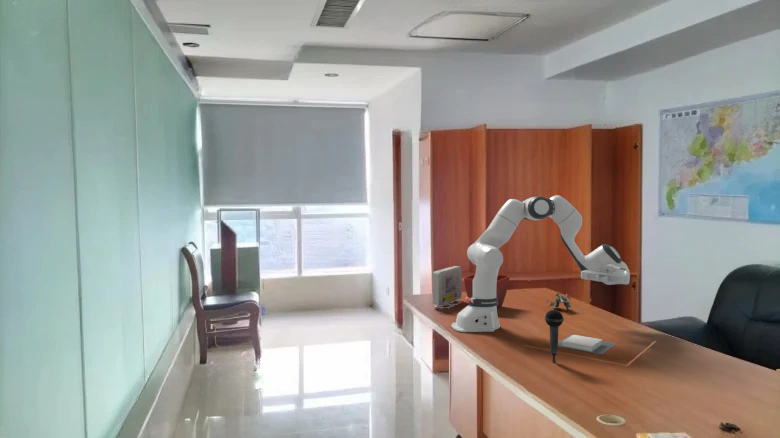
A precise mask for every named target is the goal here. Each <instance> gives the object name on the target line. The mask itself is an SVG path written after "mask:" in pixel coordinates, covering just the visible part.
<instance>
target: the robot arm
mask: <svg viewBox="0 0 780 438" xmlns="http://www.w3.org/2000/svg"><path fill="white" fill-rule="evenodd" d="M548 217H549V218H550V219H552V221H554V222H555V224H557V226H558V228H559V229H560V233H559V235H560V239H561V241H562V243H563V245H564V247H565V248H566V249H567V251H568V252H569V254H570V256H571V257H572V258H573V259H574V261H575V263H576V264H577V266H578V268H579V270H580V279H581V280H587V281H588V280H589V281H595V282H601V283H603V284H605V285H606V286H608V285H609V286H611V285H629V284H630V280H631V279H630V278H631V272H630V269H629V267H628V265H627V264H626V263H625V262H624V261H622V257H621V254H620V253H619V251H618V250H617V248H615V247H614V246H612V245H610V244H605V243H603V244H602V245H600V246H598V247H597V248H596V249H594V250H593V251H591V252H589V253H588V254H586V255H584V253H583V252H582V251H581V249H580V248H579V246H578V245H577V243H576V242H575V240H576V239H575V238H576V237H577V235H578V233H579V231H580V229H581V228H582V225H583V216H582V214H581V213H580V212H579V211H578V210H577V209H576V207H574V205H573V204H571V203H570V202H569V201H568V200H567V199H566V198H564V197H563V196H562V195H559V194H558V195H557V194H555V195H553V196H551V197H545V196H541V195H537V196H531V197H529V198H527V199H524V200H523V201H521V200H518V199H515V198H510V199H507V200H506V202H505V203H504V204H503V205H502V206H501V208H499V210H498V211H497V213H496V214H495V216H494V218H493V219H492V221H491V222H490V224H489V225H488V227H487V228H486V230H485V231H484V232H483V233H482V234H481V235H480V236H479V237H478V239H477V240H476V241H475V242H473V243H472V244H471V245H469V246H468V248H467V250H466V256H467V258H468V260H469V261H470V262H471V263H472V264H473V265H475V266H476V267H475V268H476V269H475V273H474V274H475V277H474V279H473V296H472V297H471V298H469V297H468V296H466V297H465V301H466V302H467V303H468V305H466V306H465V307H464V308H462V310H460V311H459V312H458V313H457V315H456V320H455V322H452V323H451V328H452V329H453V330H454V331H457V332H460V333H485V332H486V333H488V332H492V333H493V332H495V331H496V330H498V329H500V327H501V326H500V321H499V317H498V315H499V314H498V309H497V305H498V301H497V297H496V288H497V276H498V275H499V271H500V268H501V266H502V265H503V263H504V256H503V253H502V252H501V251H500V248H501V247H503V245H505V244H507V242H509V241H510V239H511V237H512V236H513V234H514V233H515V231H516V229H517V227H518V226H519V225H520V222H522V221H523V220H527V221H541V220H544V219H546V218H548Z"/></svg>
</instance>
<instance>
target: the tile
mask: <svg viewBox="0 0 780 438" xmlns="http://www.w3.org/2000/svg"><path fill="white" fill-rule="evenodd" d="M602 341H603V339H602V338H601V339H600V338H598V337H597V338H596V337H591V336H590V337H589V336H585V335H584V336H583V335H578V334H572V335H570V337H569V338H567V339H565V340H563V341H562V347H561V348H564V347H567V348H566V349H570V348H572V349H571V350H575V349H578V350H577V351H580V350H583V351H582V352H586V351H588V352H587V353H591V352H593V351H594V350H596V349H597V348H599V347H600V346H601V345H602Z"/></svg>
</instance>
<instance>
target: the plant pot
mask: <svg viewBox="0 0 780 438" xmlns="http://www.w3.org/2000/svg"><path fill="white" fill-rule="evenodd" d="M474 277H475V273H473V274H471V275H468V276H466V277H463V280H464V286H465V293H466V295H467V296H466V297H469V298H471V297H472V296H473V279H474ZM510 278H511V277H510V275H502V274H498V276H497V288H496V297H497V301H498V305H497V310H499V309H500V308H501V307H503V304H504V302H505V298H506V297H507V296H506V295H507V291H508V288H509V284H510V283H509V282H510Z"/></svg>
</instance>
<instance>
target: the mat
mask: <svg viewBox="0 0 780 438" xmlns="http://www.w3.org/2000/svg"><path fill="white" fill-rule="evenodd" d="M570 336H571V334H569V335H568V336H566V337H564V338H563V339H561V340H558V347H559V348H560V347H561V348H564V349H568V348H567V347H562V341H563V340H565V339H567V338H569V337H570ZM616 345H617V342H610V341H606V340H605V341H604V340H602V345H601V346H600V347H599V348H597V349H596V350H594V351H593V352H590V353H591V354H595V355H596V354H597V355H603V354H604V353H606V352H607V351H608V350H610V349H612V348H613V347H615V346H616ZM570 349H571V350H573V349H572V348H569V350H570ZM574 350H576V351H580V352H584V351H583V350H578V349H574ZM585 352H587V353H589V352H588V351H585Z"/></svg>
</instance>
